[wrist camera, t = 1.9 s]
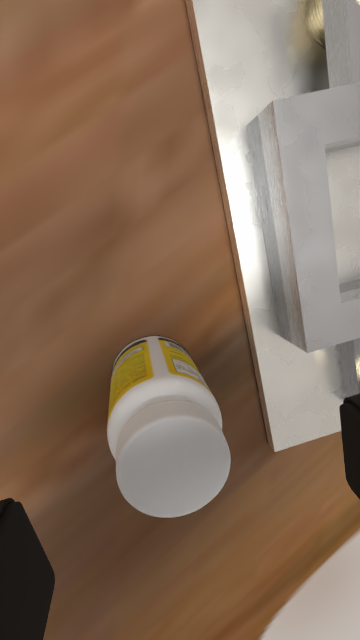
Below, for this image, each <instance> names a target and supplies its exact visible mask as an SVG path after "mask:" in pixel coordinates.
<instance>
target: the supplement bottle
mask: <svg viewBox="0 0 360 640" xmlns="http://www.w3.org/2000/svg"><path fill="white" fill-rule="evenodd" d="M107 437H108V443H109V448H110V450H111V453H112V455H113V457H114V459H115V460H116V478H117V483H118V486H119V489H120V491H121V493H122V495H123V496H124V498H125V499H126V500H127V502H128V503H130V504H131V505H132V506H133V507H134V508H136V509H137V510H139V511H141V512H142V513H145V514H147V515H150V516H155V517H162V518H168V517H179V516H183V515H187V514H189V513H192V512H195V511H197V510H198V509H200V508H202V507H203V506H205V505H206V504H208V503H209V502H210V501H211V500H212V499H213V498H214V497H215V496H216V495H217V494H218V493H219V492H220V490H221V489H222V487H223V486H224V484H225V482H226V480H227V477H228V474H229V470H230V462H231V459H230V450H229V447H228V444H227V441H226V439H225V437H224V435H223V432H222V417H221V412H220V409H219V406H218V403H217V401H216V399H215V398H214V396H213V394H212V393H211V391H210V389H209V387H208V386H207V384H206V382H205V380H204V379H203V377H202V375H201V374H200V372H199V370H198V369H197V367H196V365H195V364H194V362H193V360H192V359H191V357H190V355H189V354H188V352H187V351H186V350H185V349H184V348H183V347H182V346H181V345H180V344H179V343H177V342H176V341H174V340H172V339H169V338H166V337H161V336H150V337H145V338H141V339H138V340H136V341H134V342H132V343H130V344H129V345H127V346H126V347H125V348H124V349H123V350H122V351H121V352H120V354H119V355H118V357H117V358H116V360H115V363H114V365H113V369H112V376H111V388H110V399H109V412H108V423H107Z"/></svg>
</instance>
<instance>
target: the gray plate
mask: <svg viewBox="0 0 360 640" xmlns="http://www.w3.org/2000/svg"><path fill="white" fill-rule="evenodd" d="M185 2H186V8H187V13H188V18H189V24H190V29H191V34H192V40H193V45H194V50H195V56H196V61H197V66H198V72H199V77H200V82H201V88H202V93H203V98H204V104H205V109H206V114H207V120H208V125H209V130H210V136H211V141H212V146H213V152H214V157H215V162H216V168H217V173H218V178H219V184H220V189H221V194H222V200H223V205H224V210H225V216H226V221H227V226H228V232H229V237H230V242H231V248H232V253H233V258H234V264H235V269H236V274H237V280H238V285H239V290H240V296H241V301H242V306H243V312H244V317H245V322H246V328H247V333H248V338H249V344H250V349H251V354H252V360H253V365H254V370H255V376H256V381H257V386H258V392H259V397H260V402H261V408H262V413H263V418H264V424H265V429H266V434H267V440H268V443H269V445H270V446H271V448H272V449H273V450H274V452H277V451H280V450H283V449H286V448H289V447H292V446H295V445H298V444H301V443H304V442H308V441H311V440H314V439H317V438H320V437H323V436H326V435H329V434H332V433H335V432H338V431H341V421H340V411H339V407H340V405H341V404H343V400H344V399H345V398H346V397H350V396H353V395H357V394H360V0H185Z"/></svg>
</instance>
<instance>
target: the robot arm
mask: <svg viewBox="0 0 360 640" xmlns="http://www.w3.org/2000/svg"><path fill="white" fill-rule="evenodd" d="M339 411H340V421H341V432H342V442H343V452H344V463H345V473H346V479H347V482H348V484H349V486H350V488H351V489H352V491H353V492H354V493H355V494H356V495H357V496H358V498H359V499H360V394H357V395H353V396H350V397H346V398H345V399H344V400H343V404H341V405H340V407H339ZM54 584H55V577H54V571H53V569H52V566H51V564H50V562H49V560H48V558H47V556H46V554H45V552H44V550H43V548H42V546H41V543H40V541H39V539H38V537H37V535H36V533H35V531H34V529H33V527H32V525H31V523H30V520H29V518H28V516H27V514H26V512H25V510H24V508H23V506H22V504H21V503H20V502H15V501H14V500H13V499H12V498H8V499H4V500H1V501H0V640H43V637H44V632H45V628H46V623H47V618H48V613H49V609H50V604H51V599H52V595H53V590H54Z"/></svg>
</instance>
